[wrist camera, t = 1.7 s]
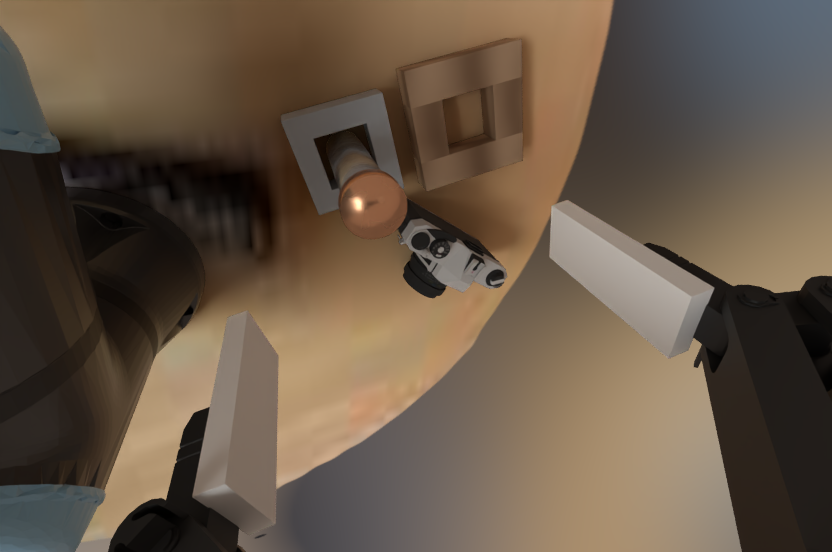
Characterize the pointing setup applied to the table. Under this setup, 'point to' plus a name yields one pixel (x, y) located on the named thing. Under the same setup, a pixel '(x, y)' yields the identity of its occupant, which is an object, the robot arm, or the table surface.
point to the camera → (444, 255)
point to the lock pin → (364, 189)
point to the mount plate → (333, 119)
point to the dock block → (501, 110)
